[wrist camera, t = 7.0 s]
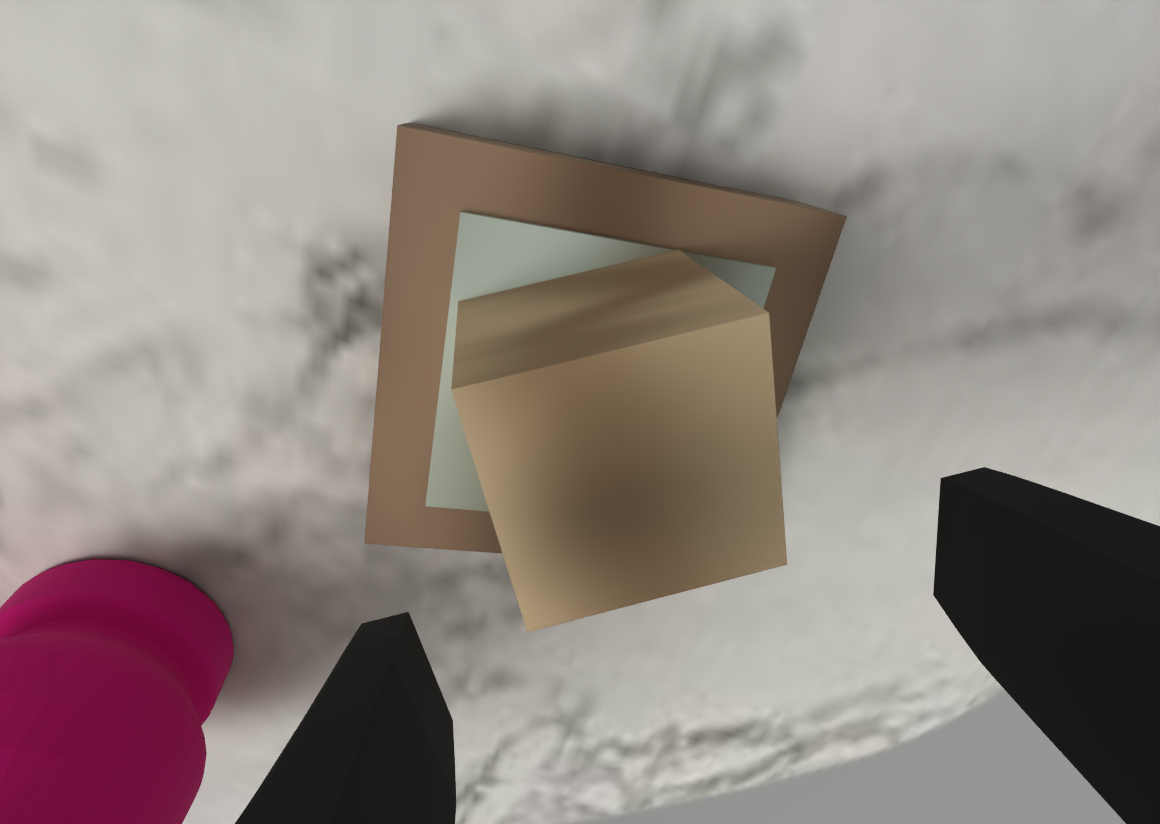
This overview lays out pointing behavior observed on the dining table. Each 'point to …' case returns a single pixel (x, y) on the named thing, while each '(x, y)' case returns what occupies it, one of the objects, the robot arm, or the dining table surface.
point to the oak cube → (622, 434)
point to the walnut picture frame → (534, 254)
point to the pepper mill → (106, 694)
